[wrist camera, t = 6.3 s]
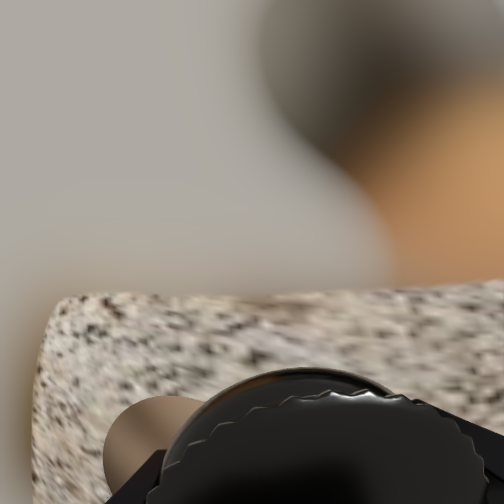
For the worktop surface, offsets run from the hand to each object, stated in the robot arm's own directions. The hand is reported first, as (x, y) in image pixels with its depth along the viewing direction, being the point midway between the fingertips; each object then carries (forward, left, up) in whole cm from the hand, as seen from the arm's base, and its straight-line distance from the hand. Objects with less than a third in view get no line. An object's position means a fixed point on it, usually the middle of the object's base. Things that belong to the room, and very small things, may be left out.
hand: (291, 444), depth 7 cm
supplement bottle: (-1, -1, -7) cm, 7 cm away
